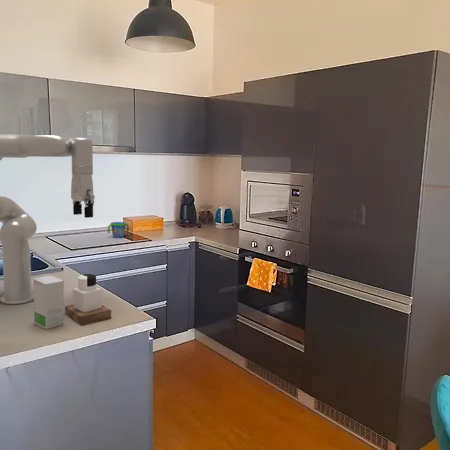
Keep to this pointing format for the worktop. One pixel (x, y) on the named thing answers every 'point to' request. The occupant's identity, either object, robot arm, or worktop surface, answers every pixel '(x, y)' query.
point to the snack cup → (118, 229)
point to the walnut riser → (87, 315)
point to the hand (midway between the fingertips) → (83, 215)
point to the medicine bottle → (87, 294)
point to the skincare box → (48, 301)
